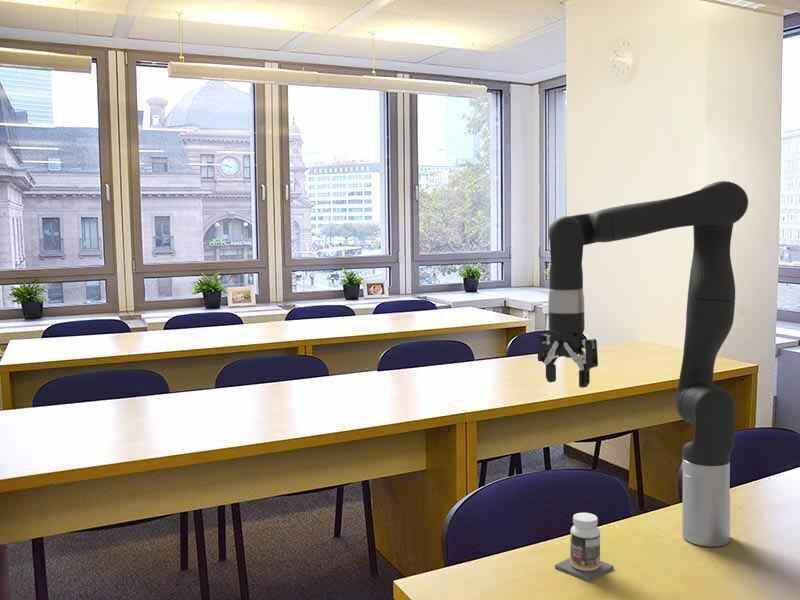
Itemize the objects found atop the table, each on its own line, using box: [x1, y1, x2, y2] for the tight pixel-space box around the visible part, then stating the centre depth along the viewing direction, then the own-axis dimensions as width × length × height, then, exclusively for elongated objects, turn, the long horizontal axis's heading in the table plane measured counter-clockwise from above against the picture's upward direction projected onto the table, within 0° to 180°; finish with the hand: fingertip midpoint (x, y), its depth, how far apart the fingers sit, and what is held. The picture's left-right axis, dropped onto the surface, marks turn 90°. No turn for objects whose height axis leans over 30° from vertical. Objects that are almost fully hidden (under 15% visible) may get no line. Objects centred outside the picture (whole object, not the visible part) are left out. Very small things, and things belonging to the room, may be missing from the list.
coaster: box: [554, 557, 615, 582], centre depth 146 cm, size 8×8×1 cm
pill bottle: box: [569, 512, 601, 571], centre depth 146 cm, size 6×6×10 cm
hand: (567, 384), depth 161 cm, fingers open, 8 cm apart
